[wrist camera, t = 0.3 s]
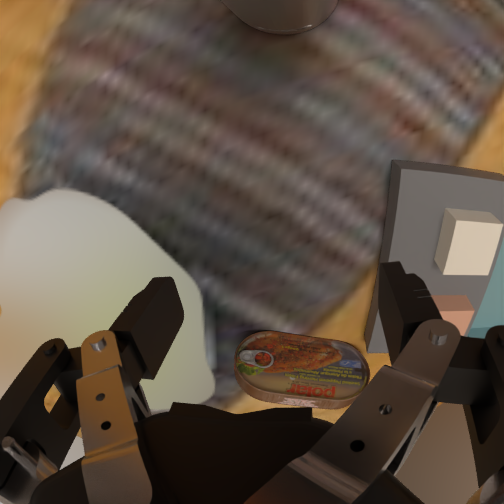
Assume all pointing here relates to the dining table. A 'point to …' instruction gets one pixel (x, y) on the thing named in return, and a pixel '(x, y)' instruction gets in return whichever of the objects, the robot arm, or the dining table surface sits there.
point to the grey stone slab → (432, 230)
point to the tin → (300, 370)
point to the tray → (491, 301)
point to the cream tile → (467, 242)
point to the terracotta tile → (455, 310)
